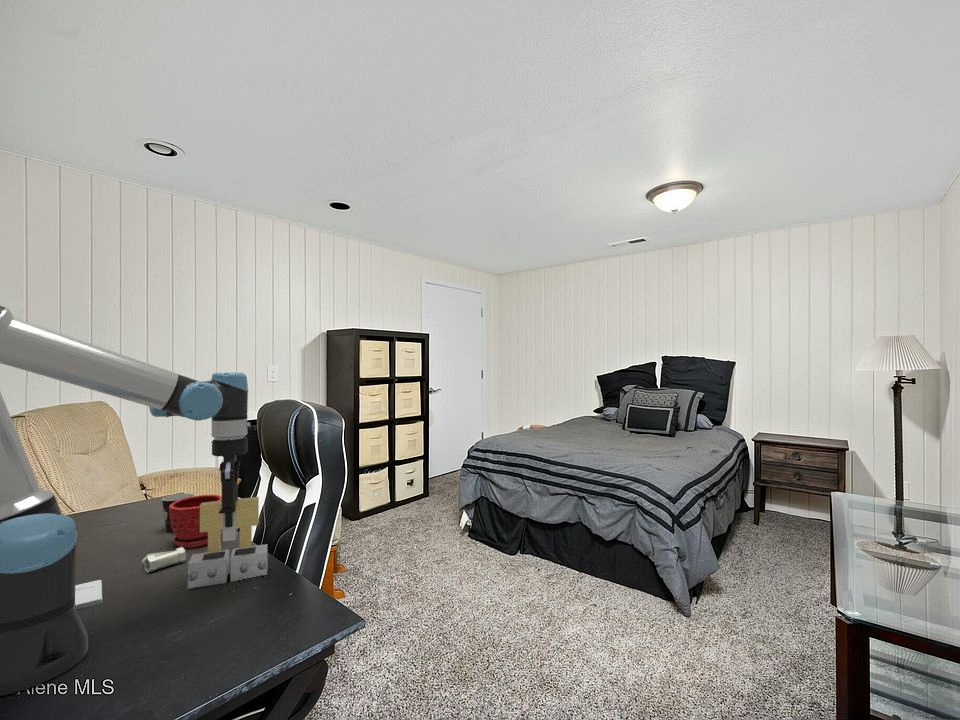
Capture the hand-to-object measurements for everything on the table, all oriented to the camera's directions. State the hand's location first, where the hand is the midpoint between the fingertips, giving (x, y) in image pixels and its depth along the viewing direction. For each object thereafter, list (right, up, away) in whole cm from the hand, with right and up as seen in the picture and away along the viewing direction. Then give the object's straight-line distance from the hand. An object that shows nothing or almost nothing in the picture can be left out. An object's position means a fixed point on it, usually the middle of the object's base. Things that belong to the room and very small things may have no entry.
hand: (230, 537), depth 110 cm
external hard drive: (-27, -10, -10) cm, 31 cm away
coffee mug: (-34, -11, +33) cm, 49 cm away
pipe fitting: (-21, -10, +7) cm, 24 cm away
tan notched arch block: (0, -3, 0) cm, 3 cm away
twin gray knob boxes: (0, -9, 0) cm, 9 cm away
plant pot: (-22, -10, +23) cm, 33 cm away
